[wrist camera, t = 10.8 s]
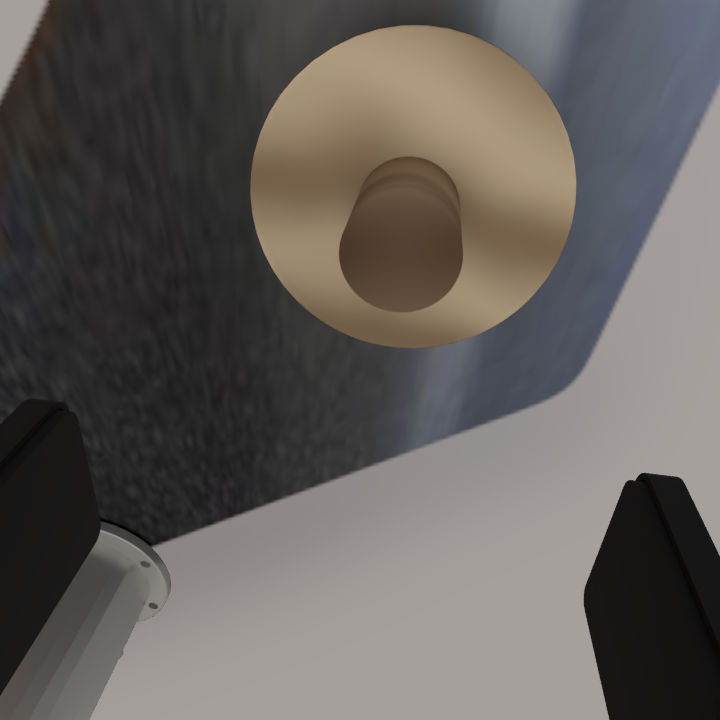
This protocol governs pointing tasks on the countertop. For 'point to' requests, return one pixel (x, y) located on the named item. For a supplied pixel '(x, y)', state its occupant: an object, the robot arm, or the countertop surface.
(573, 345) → the countertop surface
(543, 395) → the countertop surface
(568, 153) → the lid
